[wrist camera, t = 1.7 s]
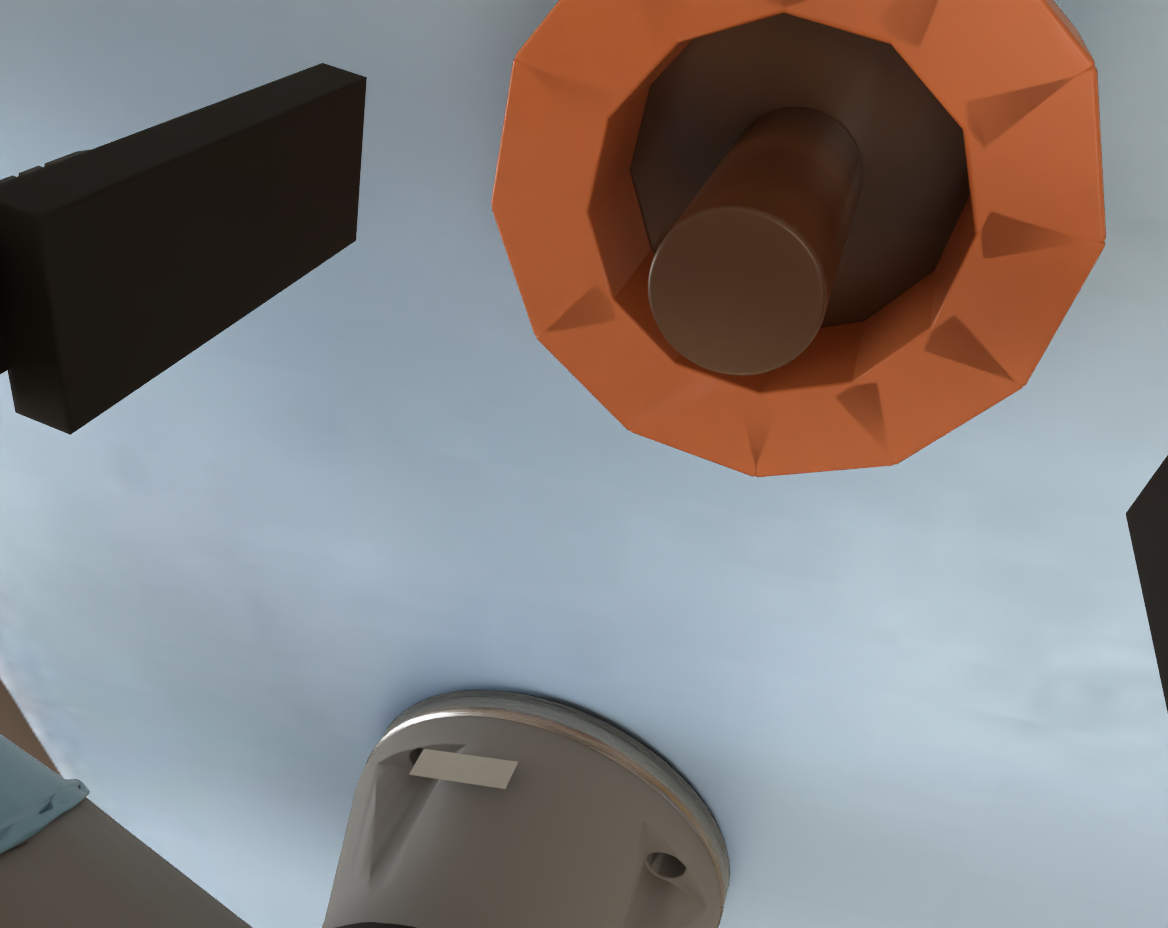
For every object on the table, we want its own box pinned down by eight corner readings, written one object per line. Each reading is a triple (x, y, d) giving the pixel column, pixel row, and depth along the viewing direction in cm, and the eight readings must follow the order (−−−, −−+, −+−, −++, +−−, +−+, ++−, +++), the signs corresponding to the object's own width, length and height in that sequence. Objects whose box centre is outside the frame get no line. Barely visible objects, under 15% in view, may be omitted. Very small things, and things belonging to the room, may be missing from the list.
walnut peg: (914, 353, 24) (891, 586, 17) (604, 248, 26) (453, 422, 18) (1083, -2, 19) (1158, 105, 12) (689, -113, 21) (530, -78, 13)
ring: (938, 469, 23) (935, 545, 20) (513, 318, 24) (463, 371, 22) (1209, -34, 16) (1251, -10, 14) (608, -196, 18) (552, -201, 15)
